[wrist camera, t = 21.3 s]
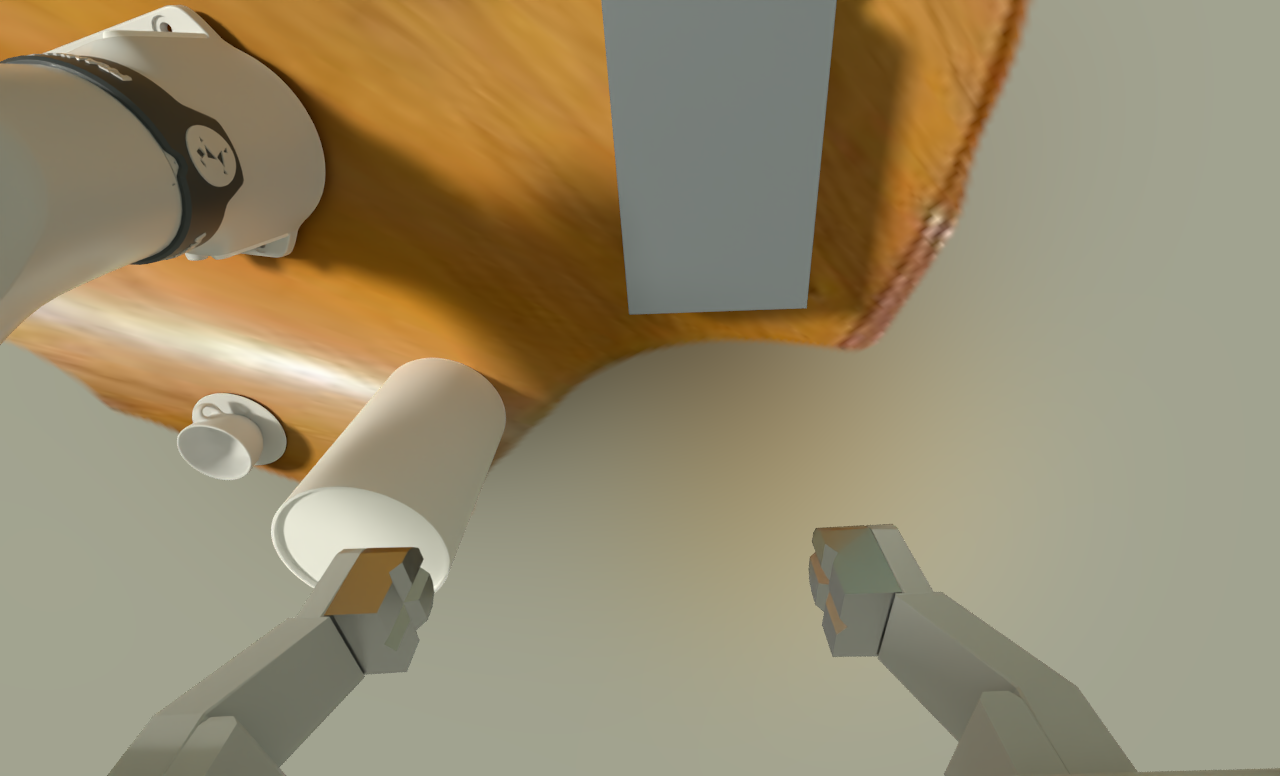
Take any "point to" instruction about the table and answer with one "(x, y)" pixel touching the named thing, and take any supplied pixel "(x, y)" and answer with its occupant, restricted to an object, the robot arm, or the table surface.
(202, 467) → the teacup
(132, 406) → the table surface
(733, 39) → the lid
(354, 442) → the canister
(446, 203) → the table surface
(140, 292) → the table surface
